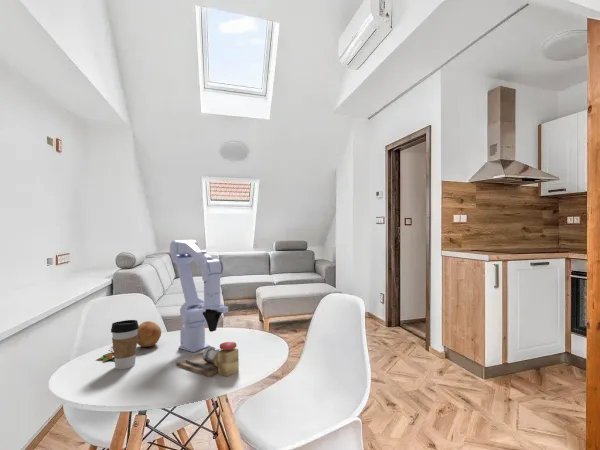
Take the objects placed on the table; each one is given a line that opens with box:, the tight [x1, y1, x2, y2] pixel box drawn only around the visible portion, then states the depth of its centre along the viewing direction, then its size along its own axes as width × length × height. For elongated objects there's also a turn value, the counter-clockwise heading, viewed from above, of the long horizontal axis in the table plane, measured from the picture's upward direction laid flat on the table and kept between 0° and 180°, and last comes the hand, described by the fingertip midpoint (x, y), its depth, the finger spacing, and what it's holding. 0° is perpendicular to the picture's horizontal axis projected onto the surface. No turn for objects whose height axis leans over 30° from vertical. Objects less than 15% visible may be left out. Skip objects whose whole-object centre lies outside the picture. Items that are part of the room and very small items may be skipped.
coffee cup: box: [110, 319, 140, 370], centre depth 108 cm, size 8×8×15 cm
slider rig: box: [175, 341, 240, 378], centre depth 106 cm, size 22×11×9 cm, turn 55°
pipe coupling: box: [202, 345, 223, 363], centre depth 106 cm, size 6×5×5 cm
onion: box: [137, 320, 162, 348], centre depth 128 cm, size 10×10×10 cm
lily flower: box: [95, 345, 115, 363], centre depth 117 cm, size 12×12×5 cm
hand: (212, 330), depth 114 cm, fingers closed
